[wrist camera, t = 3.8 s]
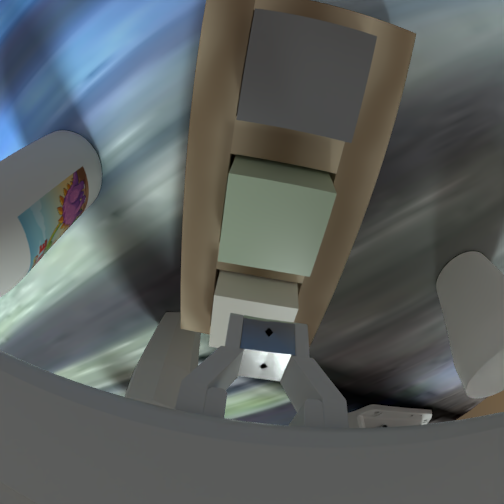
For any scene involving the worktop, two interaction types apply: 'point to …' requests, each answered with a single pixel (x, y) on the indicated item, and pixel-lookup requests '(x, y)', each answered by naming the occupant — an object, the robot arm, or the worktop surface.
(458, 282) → the cup
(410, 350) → the worktop surface
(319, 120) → the charcoal key
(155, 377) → the faceted bottle
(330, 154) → the oak key console
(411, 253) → the worktop surface
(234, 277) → the off-white key
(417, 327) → the worktop surface
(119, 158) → the worktop surface
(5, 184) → the milk bottle
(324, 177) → the sage green key
